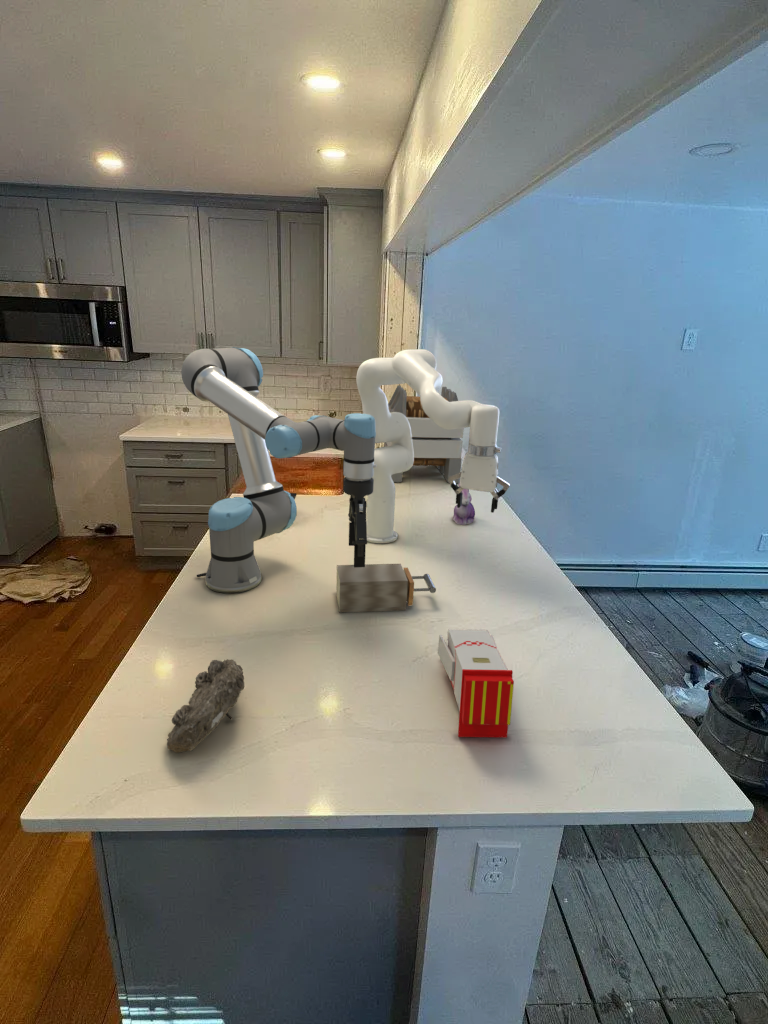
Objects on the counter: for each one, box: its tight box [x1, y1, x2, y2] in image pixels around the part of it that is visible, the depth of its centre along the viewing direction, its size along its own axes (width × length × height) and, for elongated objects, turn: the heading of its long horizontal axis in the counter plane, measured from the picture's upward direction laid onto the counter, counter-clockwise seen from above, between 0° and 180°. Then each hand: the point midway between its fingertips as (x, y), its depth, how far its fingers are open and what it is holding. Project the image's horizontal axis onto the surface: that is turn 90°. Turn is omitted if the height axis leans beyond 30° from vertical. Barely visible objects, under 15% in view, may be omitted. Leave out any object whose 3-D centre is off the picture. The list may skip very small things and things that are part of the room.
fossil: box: [166, 658, 245, 754], centre depth 106 cm, size 22×10×15 cm
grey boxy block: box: [335, 563, 408, 613], centre depth 152 cm, size 18×10×9 cm, turn 99°
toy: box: [437, 628, 515, 738], centre depth 117 cm, size 12×13×30 cm
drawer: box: [403, 567, 437, 607], centre depth 152 cm, size 23×9×7 cm, turn 99°
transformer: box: [383, 384, 465, 484], centre depth 268 cm, size 34×33×41 cm
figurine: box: [452, 482, 476, 526], centre depth 212 cm, size 9×10×15 cm
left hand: (356, 555), depth 148 cm, fingers open, 13 cm apart
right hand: (475, 508), depth 162 cm, fingers open, 9 cm apart
